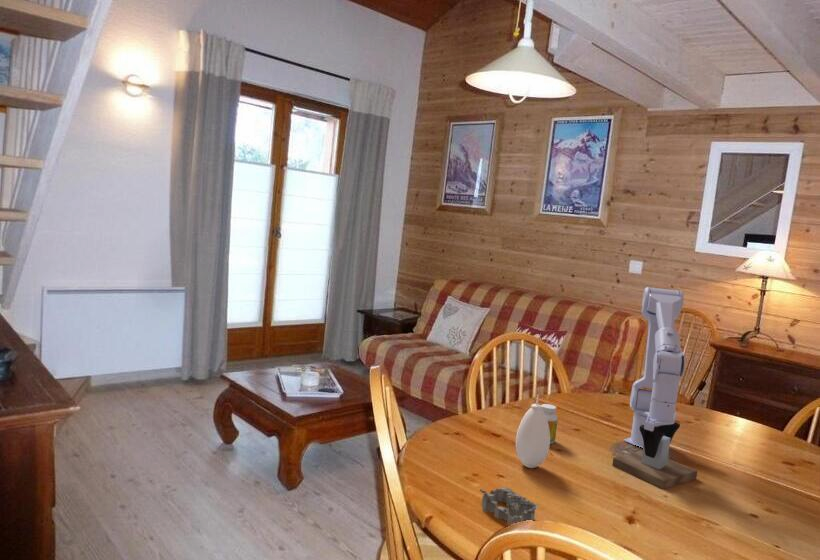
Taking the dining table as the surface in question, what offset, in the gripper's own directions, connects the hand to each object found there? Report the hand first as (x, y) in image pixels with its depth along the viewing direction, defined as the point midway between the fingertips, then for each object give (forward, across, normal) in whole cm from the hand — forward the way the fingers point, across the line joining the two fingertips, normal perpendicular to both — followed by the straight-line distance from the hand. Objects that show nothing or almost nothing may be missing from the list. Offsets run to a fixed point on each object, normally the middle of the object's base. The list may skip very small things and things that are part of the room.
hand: (656, 453), depth 145 cm
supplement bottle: (+5, +6, -28) cm, 29 cm away
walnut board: (+5, 0, 0) cm, 5 cm away
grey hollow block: (+5, +48, -10) cm, 50 cm away
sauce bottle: (+5, +25, -20) cm, 32 cm away
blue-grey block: (+3, 0, 0) cm, 3 cm away
